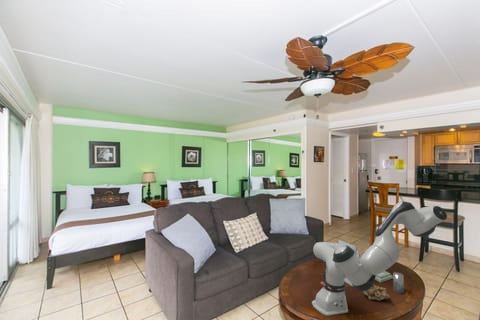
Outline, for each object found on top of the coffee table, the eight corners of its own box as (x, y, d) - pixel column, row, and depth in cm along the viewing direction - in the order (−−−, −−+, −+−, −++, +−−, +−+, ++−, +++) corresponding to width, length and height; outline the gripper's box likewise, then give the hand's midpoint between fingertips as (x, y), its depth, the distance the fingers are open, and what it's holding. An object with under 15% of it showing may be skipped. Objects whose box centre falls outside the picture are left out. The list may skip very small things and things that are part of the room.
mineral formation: (369, 289, 157) (394, 297, 146) (362, 300, 149) (387, 309, 137) (367, 278, 157) (392, 286, 145) (360, 288, 149) (385, 297, 137)
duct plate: (380, 282, 166) (380, 277, 166) (364, 274, 179) (363, 269, 179) (392, 278, 172) (392, 273, 172) (375, 270, 185) (375, 266, 185)
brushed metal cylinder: (400, 294, 150) (400, 277, 151) (391, 290, 156) (391, 273, 156) (406, 292, 153) (405, 275, 153) (397, 288, 158) (396, 271, 159)
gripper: (400, 224, 119) (385, 227, 132) (438, 224, 119) (419, 227, 131) (396, 212, 122) (382, 217, 134) (433, 212, 122) (416, 216, 134)
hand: (401, 222), depth 133 cm, fingers open, 8 cm apart
